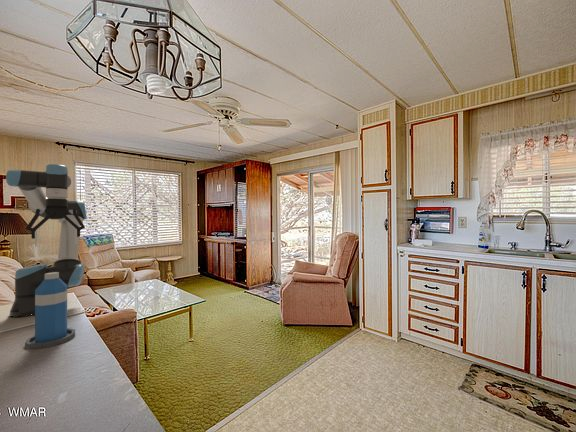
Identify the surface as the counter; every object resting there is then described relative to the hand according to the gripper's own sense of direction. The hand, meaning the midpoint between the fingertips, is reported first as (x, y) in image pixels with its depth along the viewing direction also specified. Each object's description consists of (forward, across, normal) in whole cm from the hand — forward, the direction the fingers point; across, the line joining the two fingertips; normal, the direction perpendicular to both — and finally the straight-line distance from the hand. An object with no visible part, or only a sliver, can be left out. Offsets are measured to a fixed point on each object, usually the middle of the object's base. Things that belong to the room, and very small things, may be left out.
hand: (57, 245), depth 121 cm
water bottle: (+34, 0, -24) cm, 42 cm away
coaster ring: (+35, 0, -24) cm, 42 cm away
